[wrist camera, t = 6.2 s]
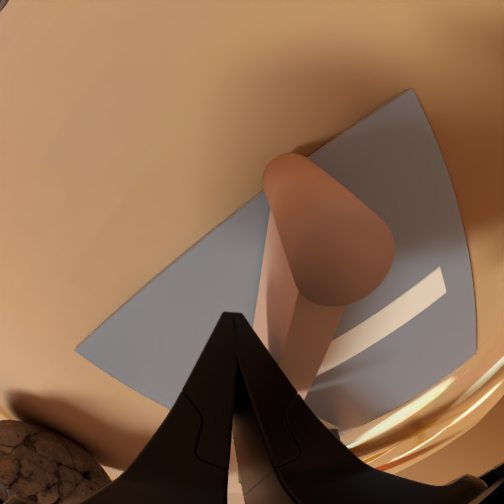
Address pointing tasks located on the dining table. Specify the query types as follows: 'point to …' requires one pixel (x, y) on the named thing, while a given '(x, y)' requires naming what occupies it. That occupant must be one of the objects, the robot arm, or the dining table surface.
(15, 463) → the clay pot
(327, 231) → the swing panel
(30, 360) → the dining table surface
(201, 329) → the card
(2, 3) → the wine glass
